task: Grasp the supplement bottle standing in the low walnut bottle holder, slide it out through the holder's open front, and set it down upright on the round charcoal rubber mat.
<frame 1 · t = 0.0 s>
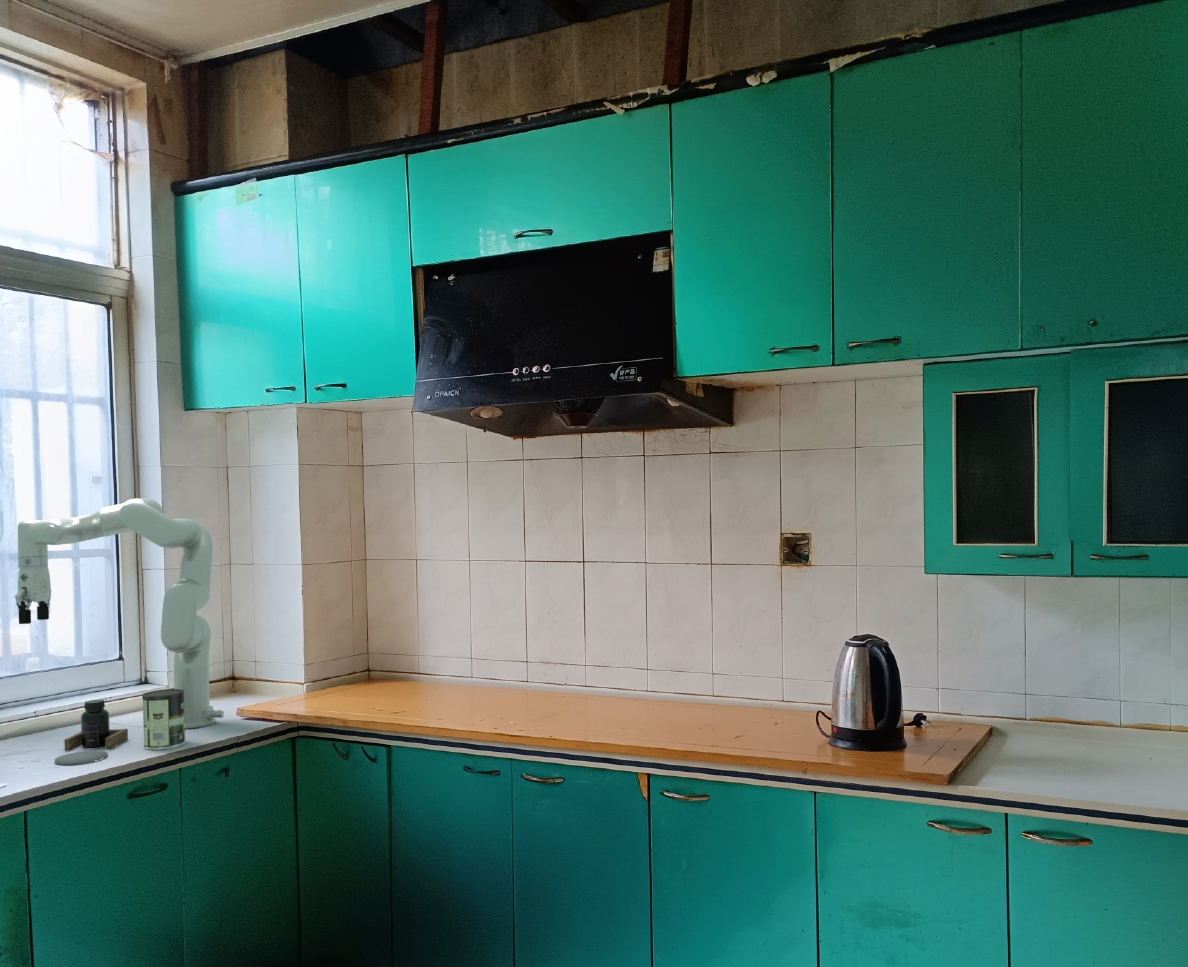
hand: (34, 621, 290), 31 cm above the table, tool pointing down, fingers open, 9 cm apart
supplement bottle: (95, 746, 267), on the table
rubber mat: (81, 759, 253), on the table
bottle holder: (95, 745, 267), on the table
coffee can: (164, 746, 266), on the table
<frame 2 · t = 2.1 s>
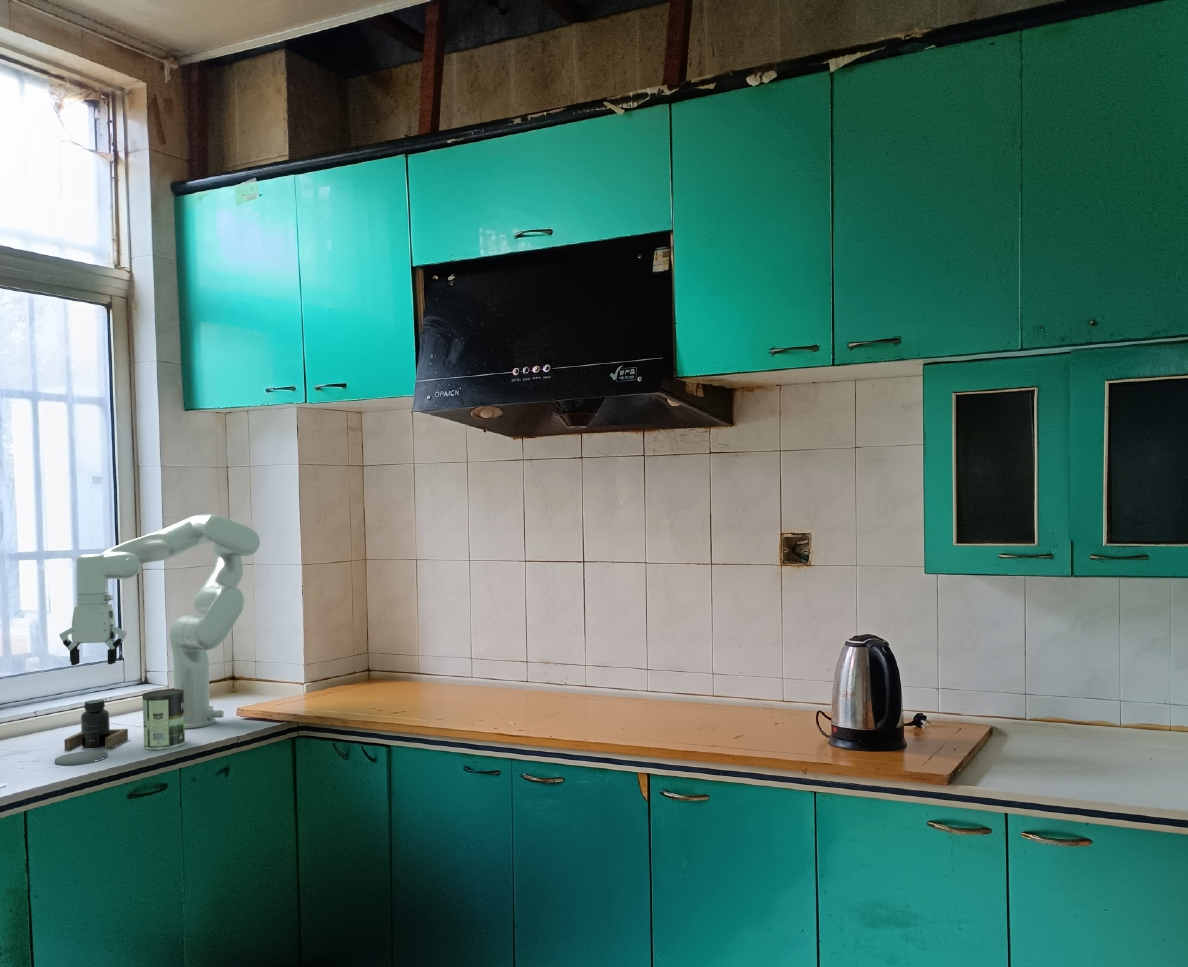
hand: (93, 664, 268), 22 cm above the table, tool pointing down, fingers open, 9 cm apart
nothing on the table moved.
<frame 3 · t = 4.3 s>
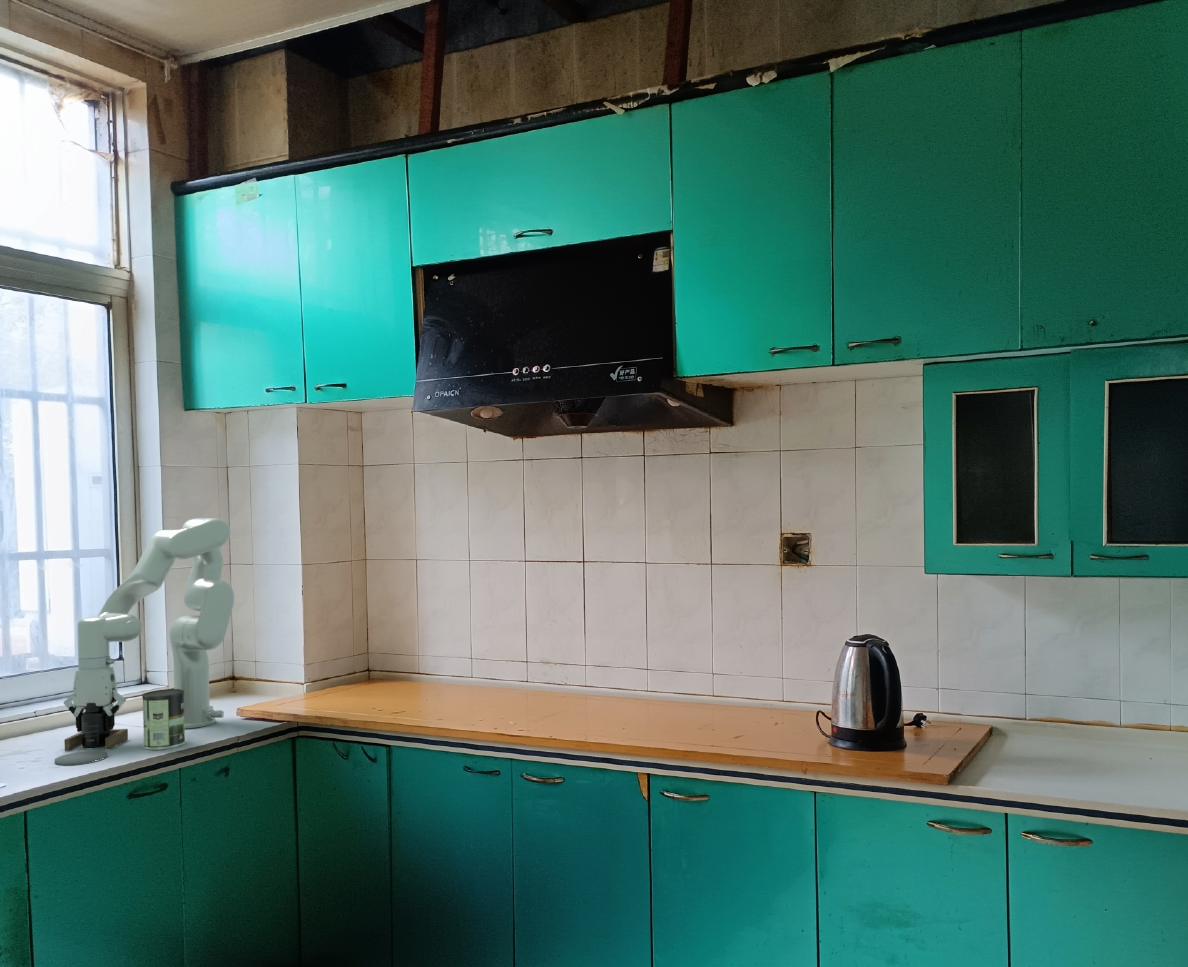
hand: (95, 729, 267), 4 cm above the table, tool pointing down, fingers closed on supplement bottle, 6 cm apart
supplement bottle: (95, 746, 267), on the table, touching gripper
everything else where it was.
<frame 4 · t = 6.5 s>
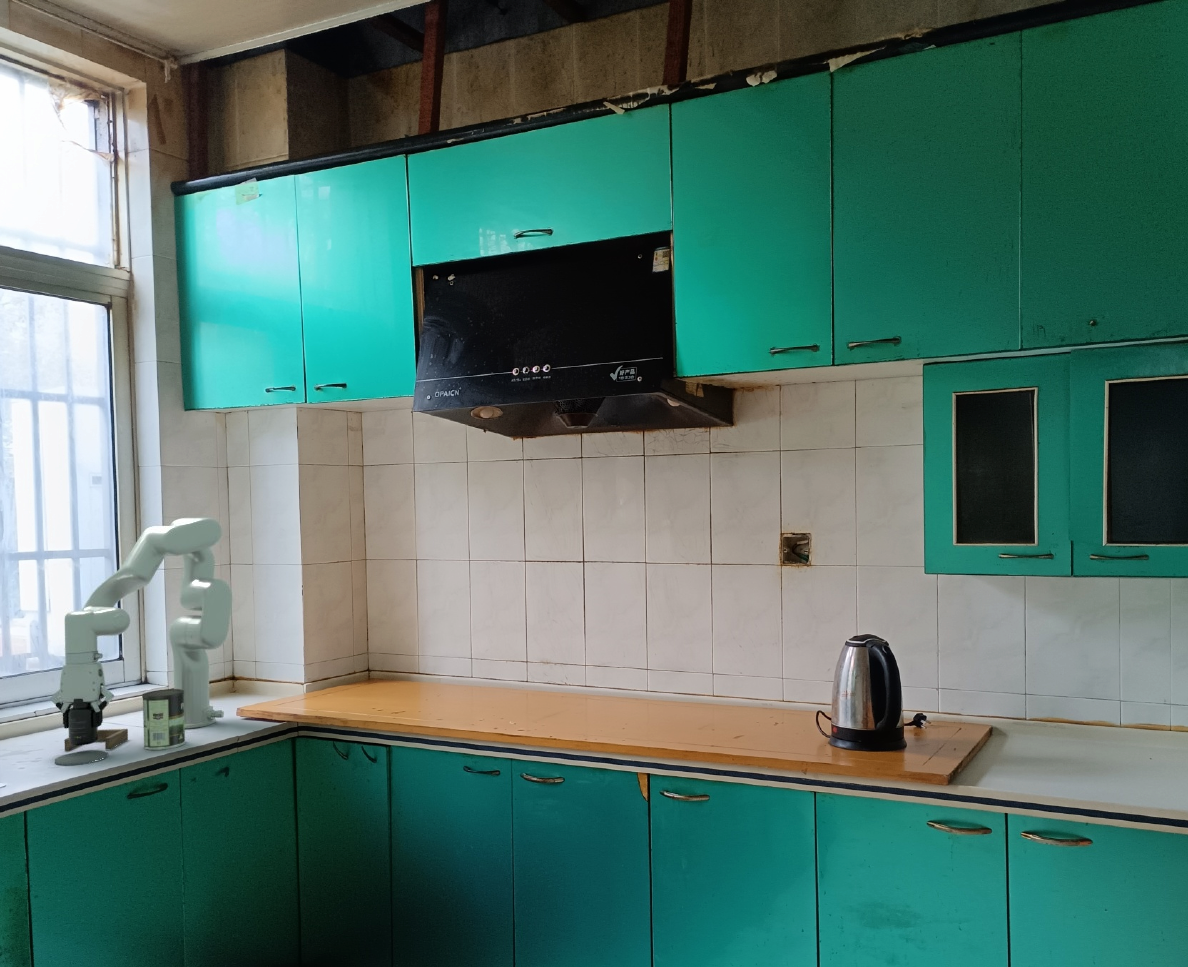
hand: (82, 726, 261), 7 cm above the table, tool pointing down, fingers closed on supplement bottle, 6 cm apart
supplement bottle: (83, 743, 261), point 2 cm above the table, touching gripper
everything else where it was.
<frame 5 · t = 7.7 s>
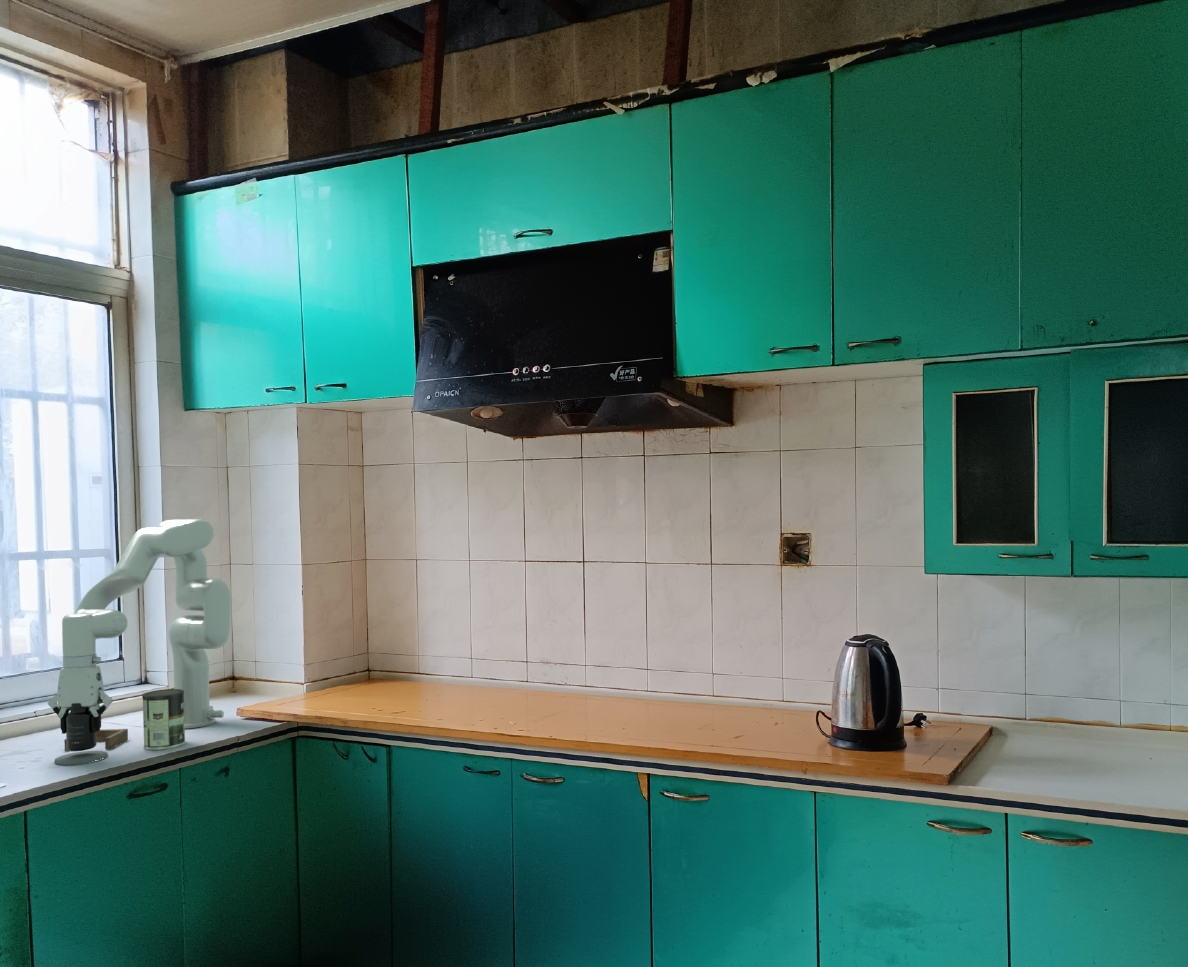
hand: (81, 731, 255), 7 cm above the table, tool pointing down, fingers closed on supplement bottle, 6 cm apart
supplement bottle: (81, 749, 255), point 2 cm above the table, touching gripper
everything else where it was.
when the fingers open (5 cm above the table, at t = 8.8 s): supplement bottle stays where it is, resting on rubber mat.
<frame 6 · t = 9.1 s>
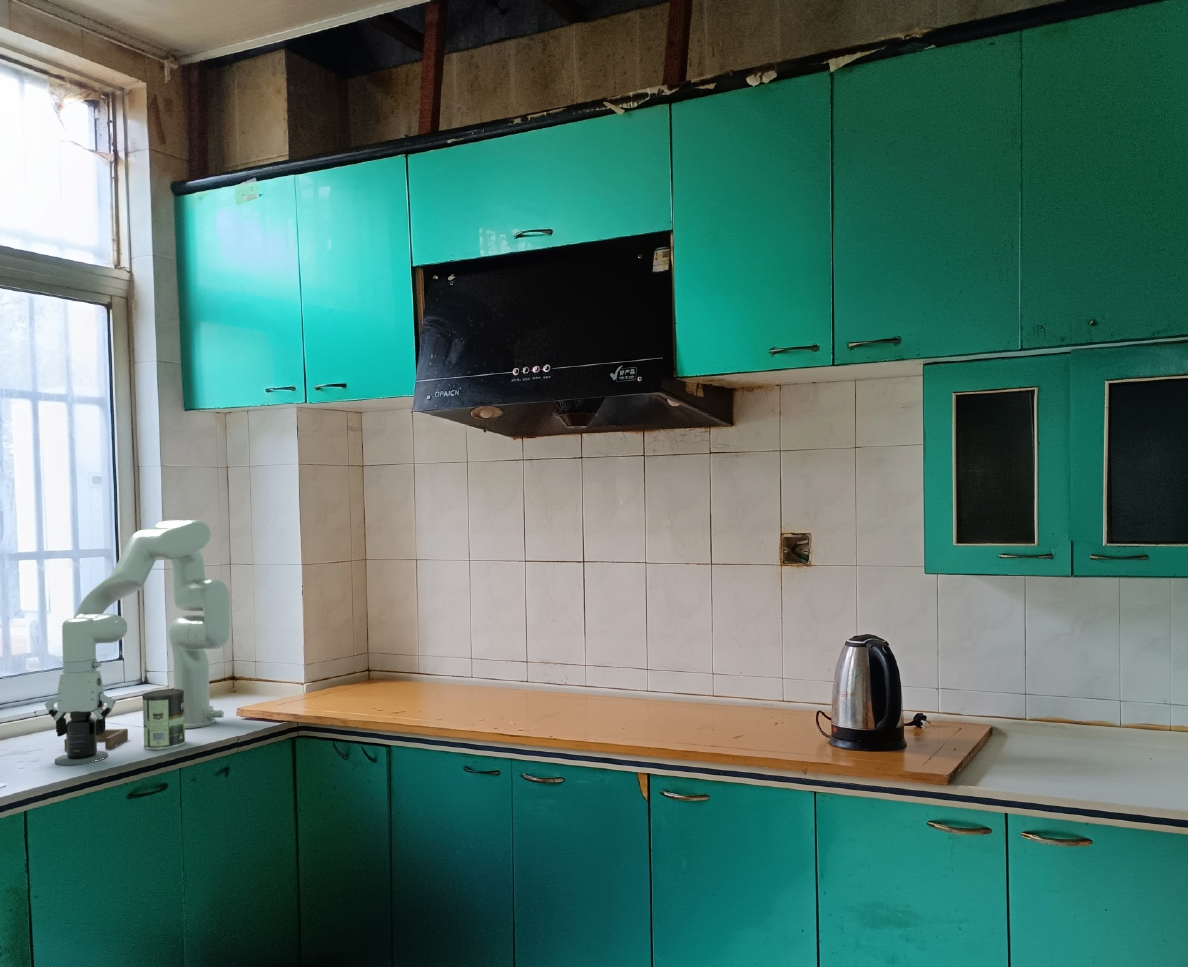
hand: (80, 734, 254), 6 cm above the table, tool pointing down, fingers open, 9 cm apart
supplement bottle: (81, 757, 254), resting on rubber mat
everything else where it was.
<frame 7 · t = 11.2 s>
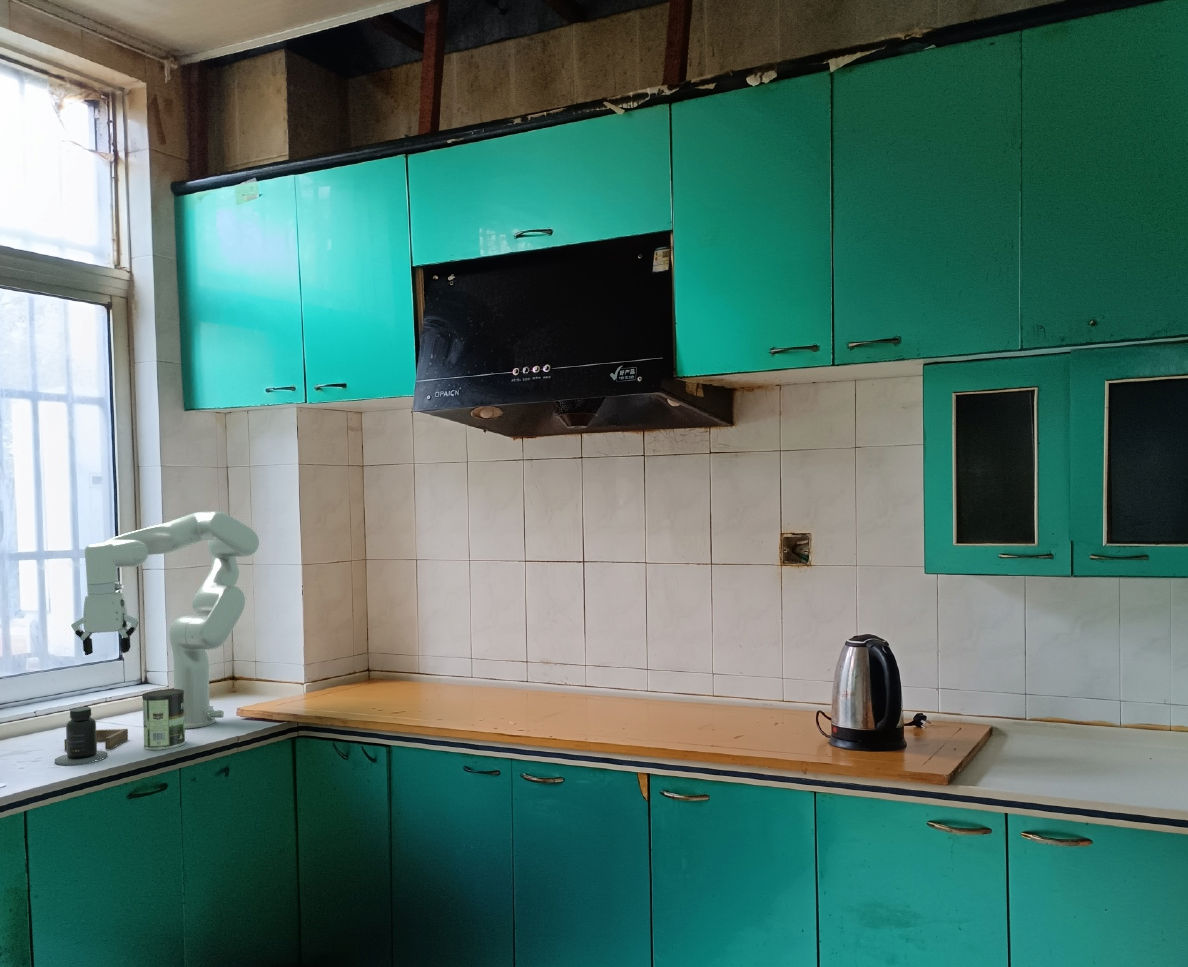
hand: (107, 653, 267), 25 cm above the table, tool pointing down, fingers open, 9 cm apart
nothing on the table moved.
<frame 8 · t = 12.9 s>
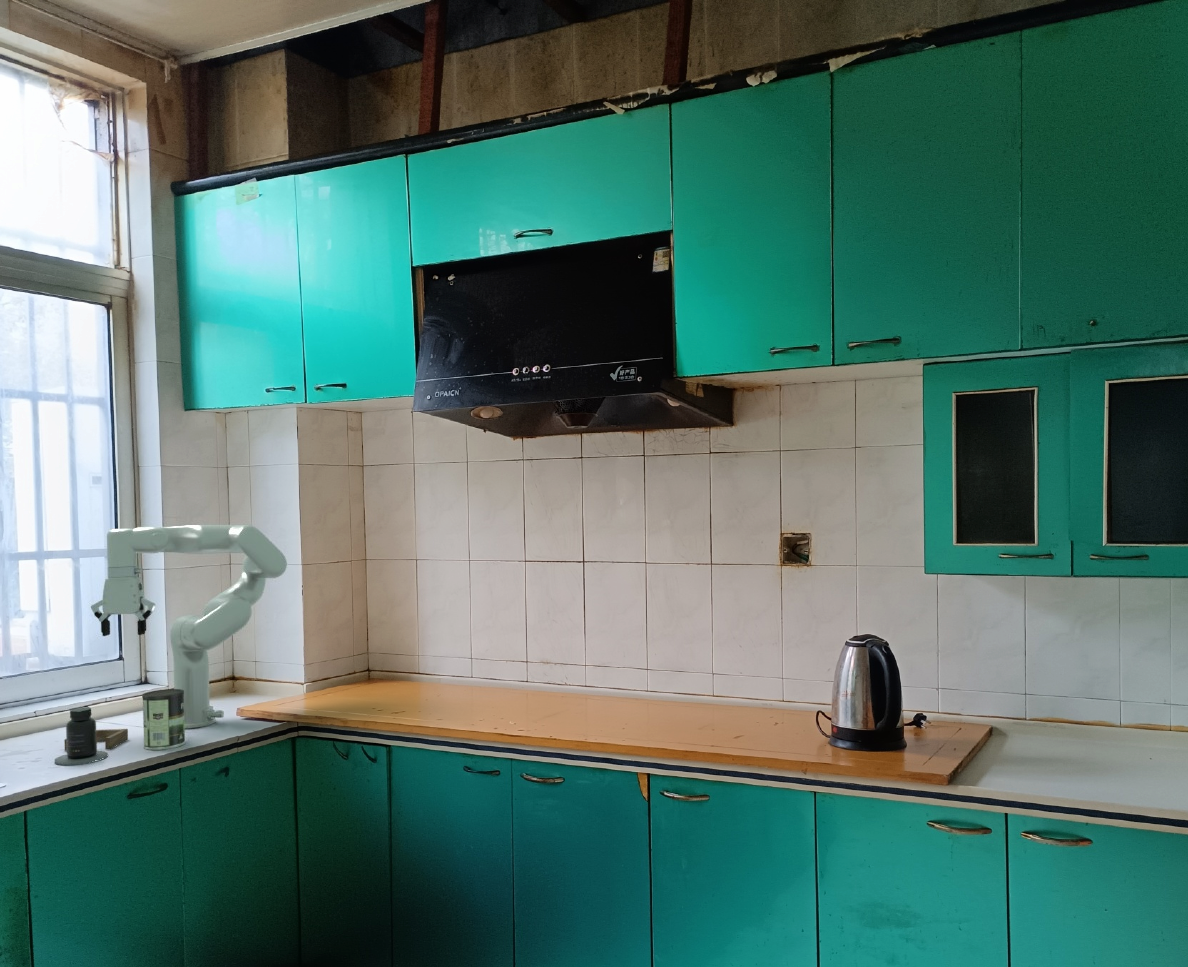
hand: (123, 634, 277), 28 cm above the table, tool pointing down, fingers open, 9 cm apart
nothing on the table moved.
at the end: supplement bottle inside the target area on the rubber mat (0.2 cm from its centre), point 0.4 cm above the rubber mat's base; supplement bottle tilted 0°; the gripper is holding nothing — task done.
